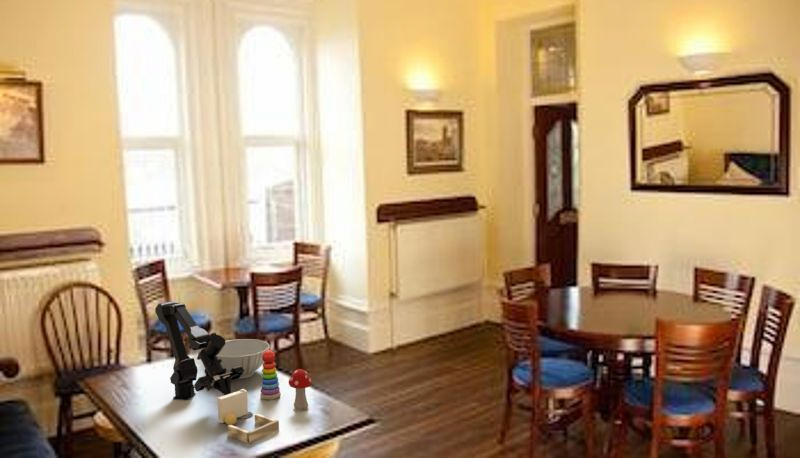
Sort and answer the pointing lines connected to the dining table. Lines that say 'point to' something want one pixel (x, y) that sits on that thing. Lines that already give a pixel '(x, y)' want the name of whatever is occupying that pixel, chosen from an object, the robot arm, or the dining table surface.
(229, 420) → the ball
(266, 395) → the stacking toy
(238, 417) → the pivot plate
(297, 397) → the decorative mushroom
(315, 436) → the dining table surface
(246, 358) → the decorative bowl
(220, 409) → the lever
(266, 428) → the tray
